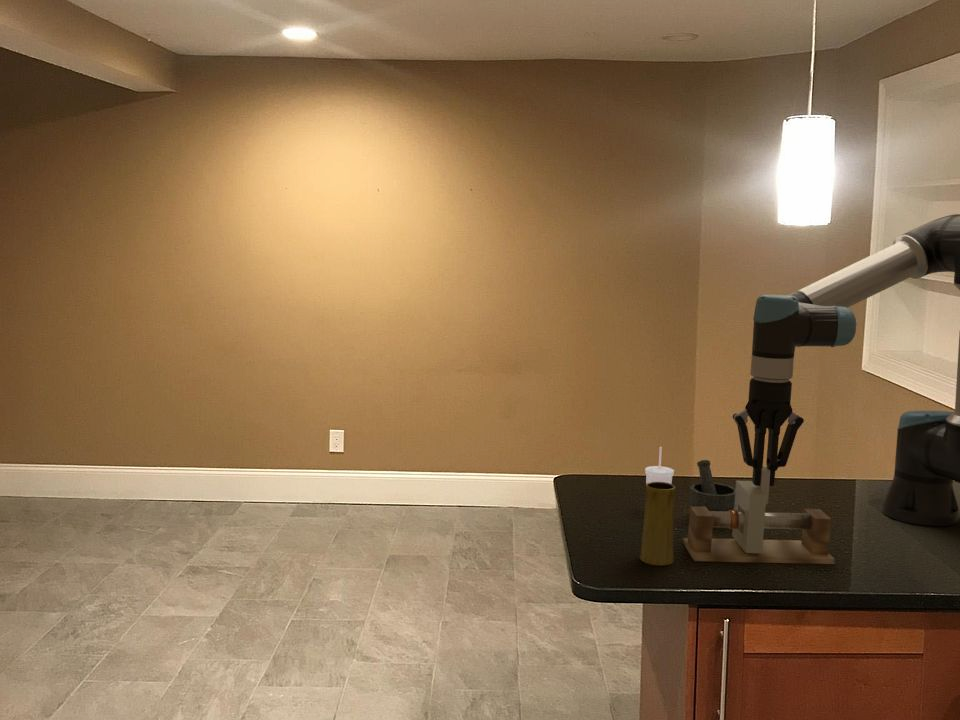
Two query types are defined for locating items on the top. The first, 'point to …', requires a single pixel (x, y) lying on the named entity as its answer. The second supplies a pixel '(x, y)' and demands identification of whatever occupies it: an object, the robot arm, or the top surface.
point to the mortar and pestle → (711, 491)
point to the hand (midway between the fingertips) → (761, 502)
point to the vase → (658, 524)
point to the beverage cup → (659, 472)
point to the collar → (750, 516)
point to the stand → (773, 551)
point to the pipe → (772, 520)
